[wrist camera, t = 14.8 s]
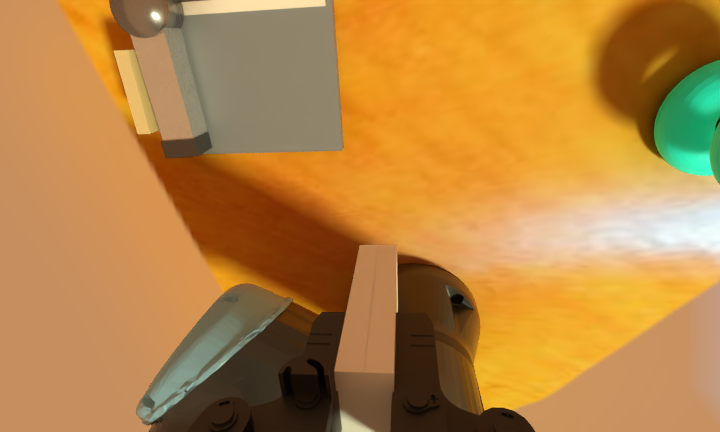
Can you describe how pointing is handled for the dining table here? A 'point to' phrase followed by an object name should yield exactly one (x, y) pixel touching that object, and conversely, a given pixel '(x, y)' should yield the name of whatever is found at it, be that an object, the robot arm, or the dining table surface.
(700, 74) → the donuts
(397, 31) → the dining table surface
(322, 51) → the plate
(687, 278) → the dining table surface
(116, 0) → the lock bar
